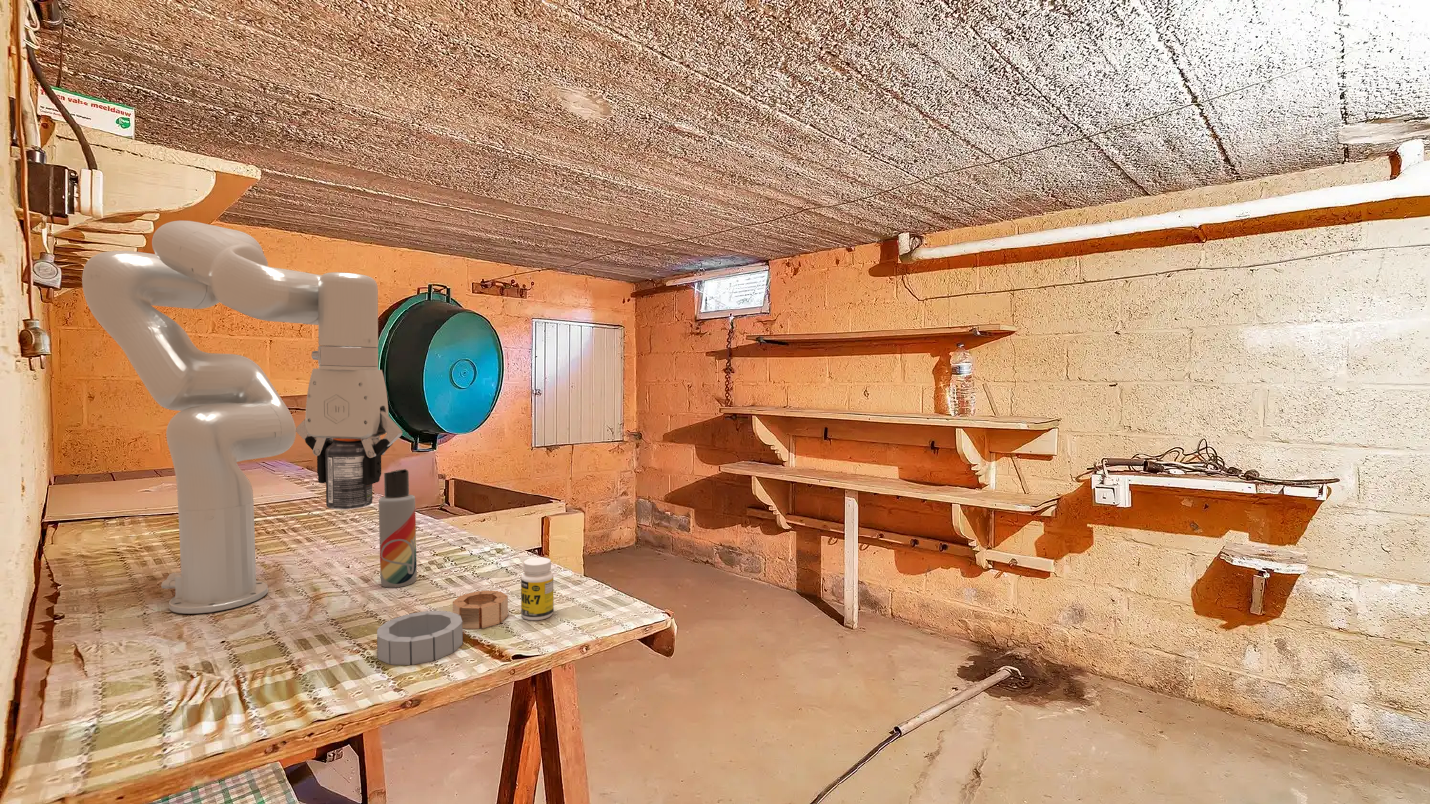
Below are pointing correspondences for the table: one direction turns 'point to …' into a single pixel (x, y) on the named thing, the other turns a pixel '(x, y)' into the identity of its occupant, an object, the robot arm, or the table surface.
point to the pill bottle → (346, 475)
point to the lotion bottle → (397, 531)
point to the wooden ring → (481, 609)
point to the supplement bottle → (537, 589)
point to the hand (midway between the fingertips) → (349, 481)
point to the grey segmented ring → (419, 637)
